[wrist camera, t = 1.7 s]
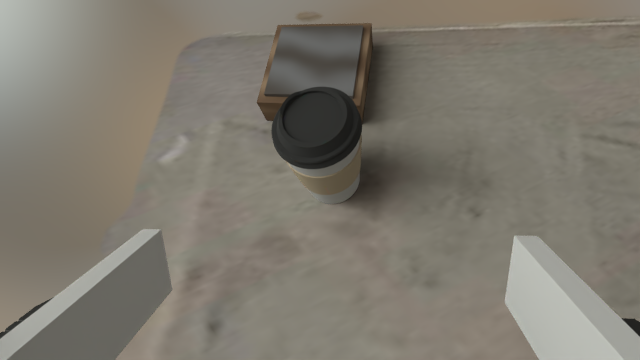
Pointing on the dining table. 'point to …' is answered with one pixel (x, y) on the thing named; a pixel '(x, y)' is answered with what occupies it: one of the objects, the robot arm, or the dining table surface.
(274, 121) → the coffee cup
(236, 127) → the dining table surface
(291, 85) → the walnut block
